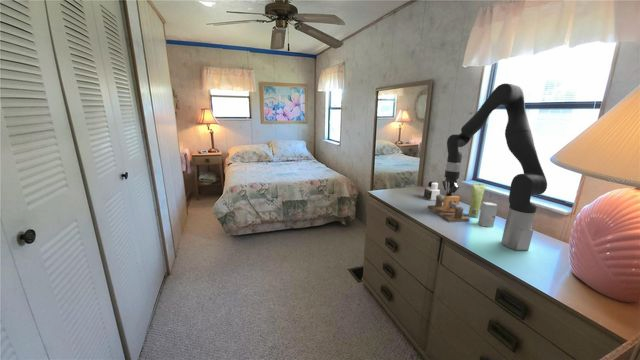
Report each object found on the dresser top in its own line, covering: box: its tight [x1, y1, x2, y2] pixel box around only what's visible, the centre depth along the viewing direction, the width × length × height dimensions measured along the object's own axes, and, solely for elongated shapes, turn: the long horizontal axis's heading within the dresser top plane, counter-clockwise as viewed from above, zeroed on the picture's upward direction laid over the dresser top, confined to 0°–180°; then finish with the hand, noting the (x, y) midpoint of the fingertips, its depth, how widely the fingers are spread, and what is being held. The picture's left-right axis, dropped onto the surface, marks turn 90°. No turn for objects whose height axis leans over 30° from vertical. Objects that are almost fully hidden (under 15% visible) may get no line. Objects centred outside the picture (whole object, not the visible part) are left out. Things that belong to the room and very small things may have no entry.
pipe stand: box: [427, 194, 470, 223], centre depth 151 cm, size 22×12×9 cm, turn 7°
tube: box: [467, 183, 487, 218], centre depth 148 cm, size 6×5×20 cm
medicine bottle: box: [423, 181, 441, 201], centre depth 178 cm, size 7×7×12 cm
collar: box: [442, 195, 461, 211], centre depth 148 cm, size 2×8×8 cm, turn 97°
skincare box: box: [477, 201, 498, 228], centre depth 137 cm, size 6×4×12 cm
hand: (448, 198), depth 151 cm, fingers closed
